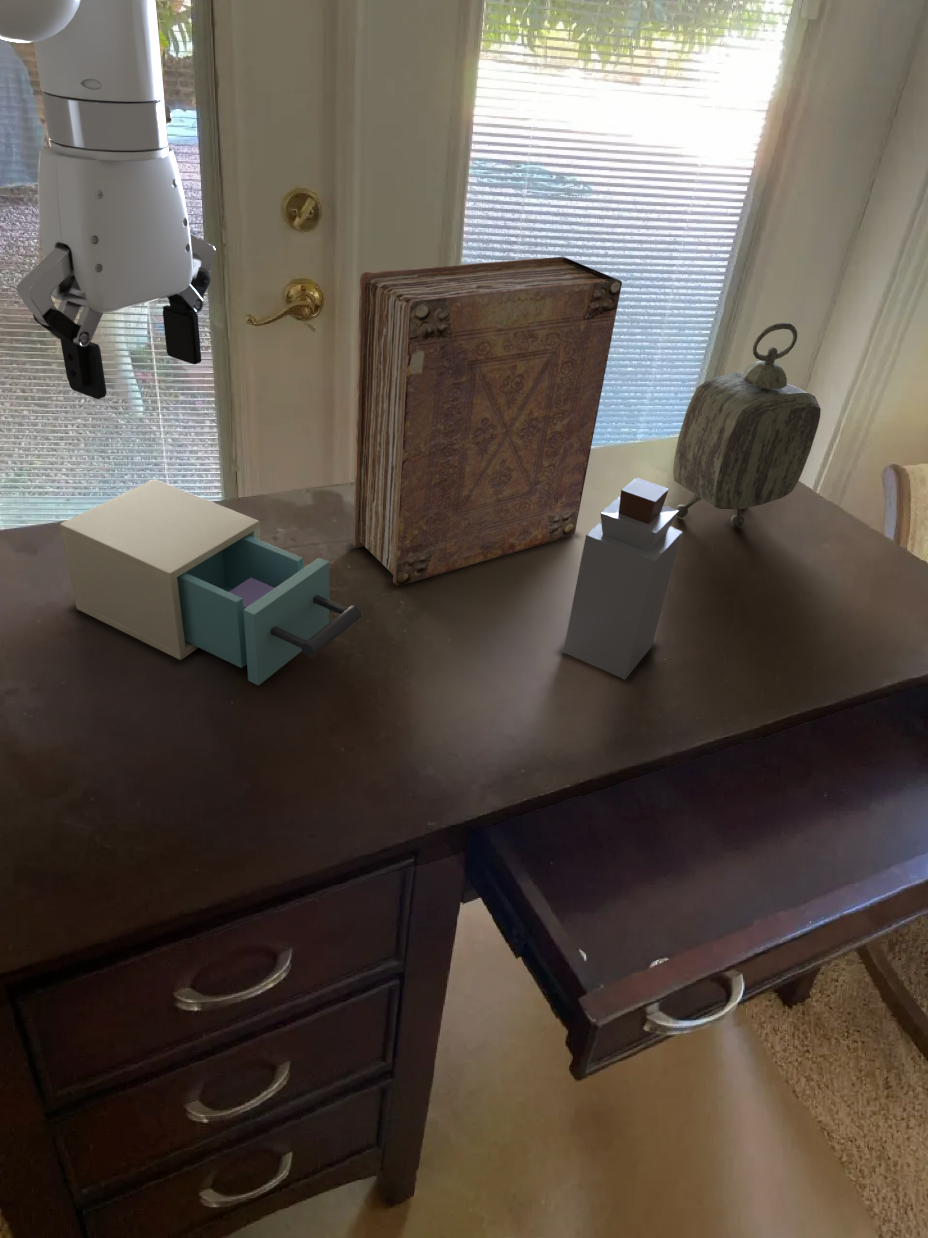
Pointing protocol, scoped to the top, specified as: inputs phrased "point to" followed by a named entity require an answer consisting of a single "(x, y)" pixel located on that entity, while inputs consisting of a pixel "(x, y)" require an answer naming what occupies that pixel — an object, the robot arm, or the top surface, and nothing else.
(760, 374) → the tabletop clock
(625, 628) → the perfume bottle
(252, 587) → the lavender cube
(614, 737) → the top surface
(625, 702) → the top surface
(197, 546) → the drawer cabinet
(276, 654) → the teal drawer
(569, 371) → the book
